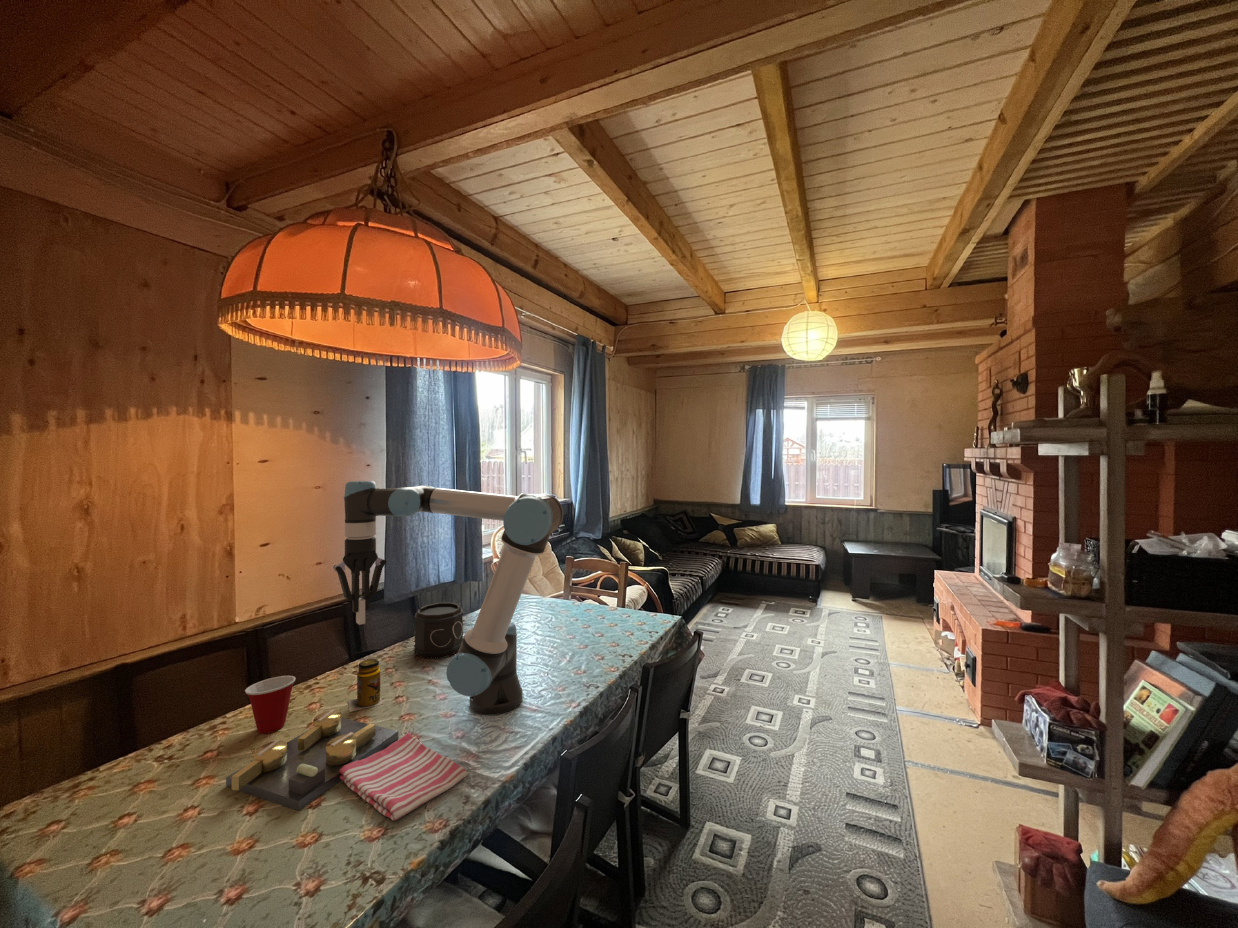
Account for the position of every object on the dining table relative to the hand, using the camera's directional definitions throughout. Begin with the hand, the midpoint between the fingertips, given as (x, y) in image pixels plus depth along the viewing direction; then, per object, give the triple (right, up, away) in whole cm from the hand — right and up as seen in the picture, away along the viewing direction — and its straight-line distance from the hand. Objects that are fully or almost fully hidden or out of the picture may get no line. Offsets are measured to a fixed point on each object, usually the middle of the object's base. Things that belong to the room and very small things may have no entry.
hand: (360, 622), depth 128 cm
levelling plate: (0, -26, -18) cm, 32 cm away
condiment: (-3, -27, +9) cm, 28 cm away
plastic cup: (-22, -27, -4) cm, 35 cm away
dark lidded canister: (+4, -27, +47) cm, 55 cm away
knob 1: (-8, -24, -25) cm, 36 cm away
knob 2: (-3, -24, -12) cm, 27 cm away
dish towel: (+23, -27, -25) cm, 43 cm away
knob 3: (+8, -24, -17) cm, 31 cm away
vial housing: (+5, -24, -29) cm, 38 cm away
